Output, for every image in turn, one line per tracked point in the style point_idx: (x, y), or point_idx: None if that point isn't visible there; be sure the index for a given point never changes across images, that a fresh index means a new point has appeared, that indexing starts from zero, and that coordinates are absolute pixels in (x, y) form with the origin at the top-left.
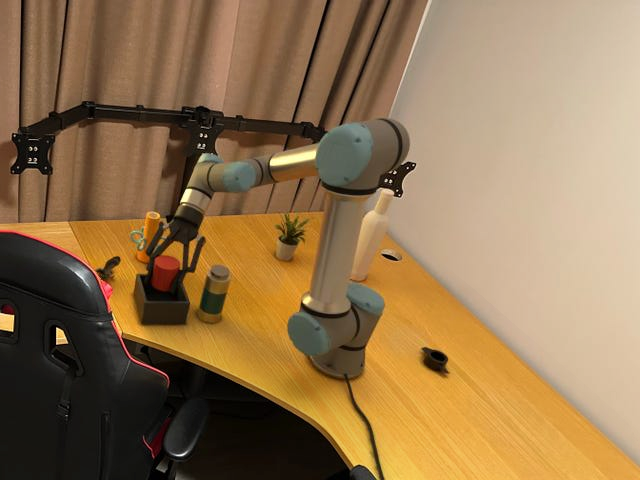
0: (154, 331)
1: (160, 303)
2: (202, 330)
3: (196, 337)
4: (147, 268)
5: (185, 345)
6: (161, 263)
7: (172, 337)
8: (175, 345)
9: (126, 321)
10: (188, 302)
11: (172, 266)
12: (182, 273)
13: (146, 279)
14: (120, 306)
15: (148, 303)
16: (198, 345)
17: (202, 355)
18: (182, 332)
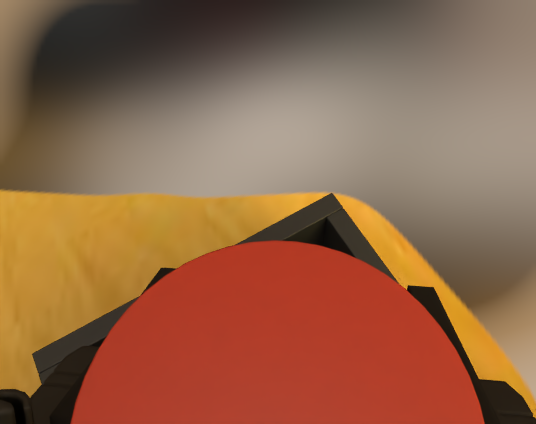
0: None
1: (238, 244)
2: (7, 376)
3: (37, 302)
4: (498, 392)
5: (84, 221)
6: (345, 340)
7: (152, 243)
8: (128, 200)
9: (396, 244)
10: (47, 354)
11: (171, 353)
12: (47, 416)
13: (422, 299)
14: (490, 346)
15: (310, 206)
16: (24, 250)
17: (3, 197)
18: (111, 304)
